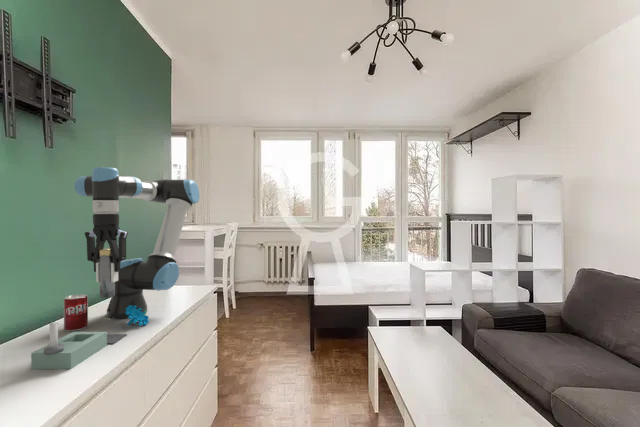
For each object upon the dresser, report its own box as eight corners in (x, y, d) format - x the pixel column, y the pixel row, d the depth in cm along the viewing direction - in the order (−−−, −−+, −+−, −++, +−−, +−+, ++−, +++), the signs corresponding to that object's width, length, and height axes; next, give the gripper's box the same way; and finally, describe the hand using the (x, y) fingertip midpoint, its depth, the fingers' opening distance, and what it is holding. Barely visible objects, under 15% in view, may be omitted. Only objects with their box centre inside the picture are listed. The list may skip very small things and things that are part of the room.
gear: (139, 325, 122) (122, 305, 124) (127, 337, 122) (111, 317, 124) (156, 320, 133) (140, 301, 135) (145, 330, 133) (130, 312, 135)
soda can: (91, 327, 125) (91, 295, 125) (69, 333, 119) (69, 300, 119) (82, 323, 129) (82, 293, 129) (60, 329, 123) (60, 297, 123)
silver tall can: (105, 294, 115) (104, 248, 115) (117, 294, 115) (117, 248, 115) (96, 297, 111) (95, 250, 110) (109, 297, 111) (109, 250, 110)
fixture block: (73, 345, 108) (73, 307, 108) (107, 345, 108) (106, 307, 108) (27, 371, 91) (27, 326, 91) (67, 371, 91) (67, 325, 91)
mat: (104, 335, 117) (104, 334, 117) (127, 335, 118) (127, 334, 118) (89, 344, 109) (89, 343, 109) (113, 344, 110) (113, 343, 110)
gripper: (72, 213, 108) (73, 284, 109) (125, 213, 108) (126, 284, 109) (88, 212, 116) (89, 278, 117) (137, 212, 116) (138, 278, 117)
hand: (107, 281), depth 113 cm, fingers closed on silver tall can, 4 cm apart
